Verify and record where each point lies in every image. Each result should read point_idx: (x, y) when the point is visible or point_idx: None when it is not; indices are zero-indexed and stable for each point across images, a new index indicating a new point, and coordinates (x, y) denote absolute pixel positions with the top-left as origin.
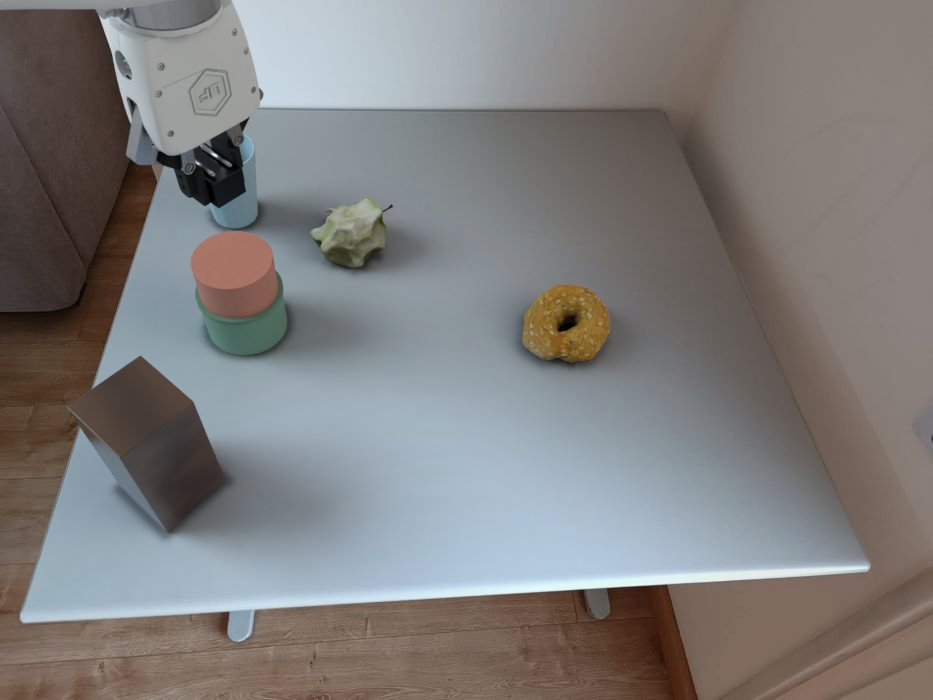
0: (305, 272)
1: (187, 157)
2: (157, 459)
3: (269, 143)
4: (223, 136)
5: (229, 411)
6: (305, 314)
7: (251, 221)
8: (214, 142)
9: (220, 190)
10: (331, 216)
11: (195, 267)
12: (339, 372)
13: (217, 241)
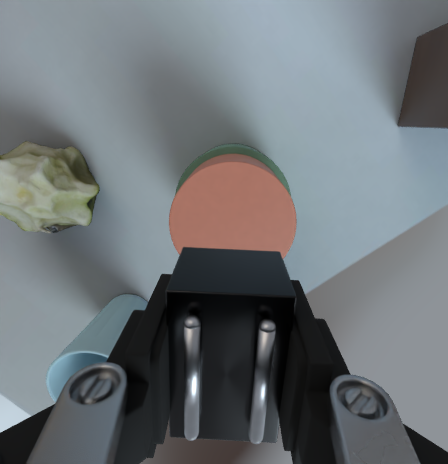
0: (131, 198)
1: (382, 453)
2: None
3: (33, 362)
4: (131, 434)
5: (337, 113)
6: (176, 150)
7: (126, 295)
8: (162, 426)
9: (266, 276)
10: (48, 214)
11: (280, 252)
12: (212, 45)
13: None
